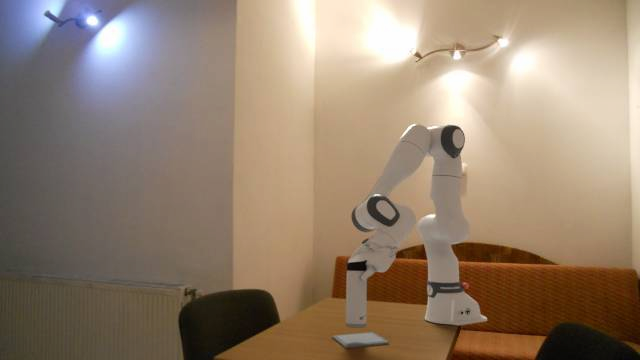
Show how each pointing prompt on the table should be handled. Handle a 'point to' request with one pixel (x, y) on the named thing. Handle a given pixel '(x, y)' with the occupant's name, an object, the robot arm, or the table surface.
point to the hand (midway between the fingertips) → (355, 278)
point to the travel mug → (356, 295)
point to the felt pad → (359, 340)
